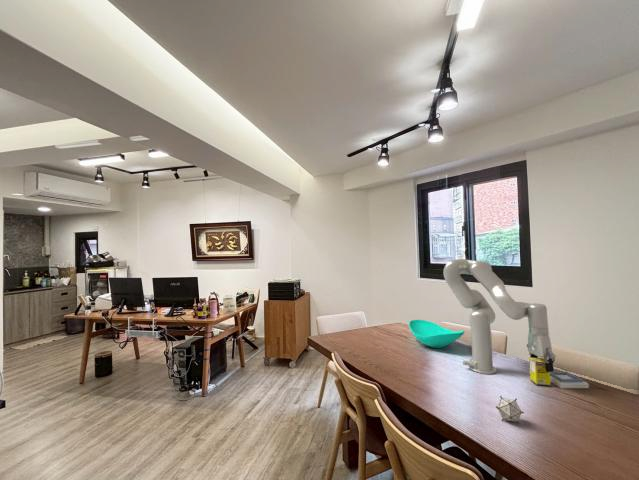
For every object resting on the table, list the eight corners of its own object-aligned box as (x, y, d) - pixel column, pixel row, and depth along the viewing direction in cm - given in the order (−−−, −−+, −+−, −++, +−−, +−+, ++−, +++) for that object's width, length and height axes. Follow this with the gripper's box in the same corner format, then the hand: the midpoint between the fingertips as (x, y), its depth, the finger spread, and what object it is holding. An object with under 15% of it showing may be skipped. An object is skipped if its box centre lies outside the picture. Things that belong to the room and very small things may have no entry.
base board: (561, 388, 136) (561, 380, 136) (542, 377, 148) (542, 370, 148) (588, 388, 136) (588, 380, 136) (567, 377, 148) (566, 370, 148)
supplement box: (551, 386, 138) (549, 362, 138) (536, 385, 139) (535, 361, 139) (544, 381, 143) (543, 358, 144) (530, 380, 145) (529, 357, 145)
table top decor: (476, 351, 186) (476, 330, 187) (443, 358, 175) (442, 335, 175) (429, 336, 222) (428, 317, 223) (399, 341, 211) (398, 321, 212)
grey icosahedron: (503, 429, 112) (486, 401, 117) (523, 419, 112) (505, 392, 118) (513, 429, 104) (494, 399, 109) (535, 419, 105) (514, 389, 110)
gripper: (518, 326, 151) (521, 361, 149) (543, 335, 133) (547, 375, 132) (534, 326, 151) (536, 361, 149) (561, 334, 133) (564, 374, 132)
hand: (541, 367), depth 141 cm, fingers open, 9 cm apart
